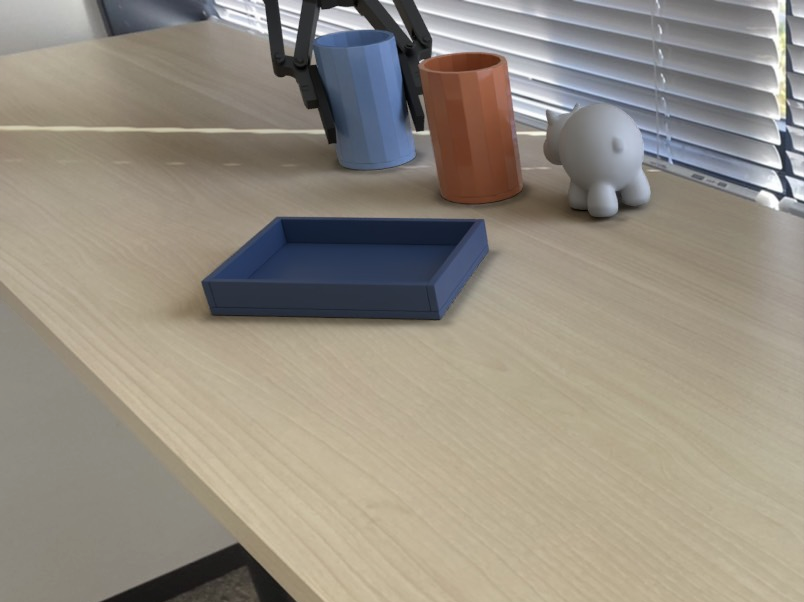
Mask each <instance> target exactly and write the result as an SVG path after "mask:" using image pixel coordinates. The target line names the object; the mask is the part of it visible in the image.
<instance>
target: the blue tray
mask: <svg viewBox="0 0 804 602" xmlns="http://www.w3.org/2000/svg"><path fill="white" fill-rule="evenodd" d="M487 234H488V233H487V227H486V220H485V218H443V217H442V218H438V217H437V218H434V217H433V218H429V217H359V216H358V217H353V216H352V217H351V216H350V217H349V216H346V217H345V216H275V218H273V219H272V220H271V221H270V222H268V223H267V224H266V225H265V226H264V227H263V228H261V230H259V231H258V232H257V233H255V235H253V236H252V237H251V238H250V239H249V240H247V241H246V242H245V243H244V244H243V245H242V246H241V247H239V248H238V249H237V250H235V252H233V253H232V254H231V255H230V256H229V257H228V258H226V259H225V260H224V261H223V262H222V263H221V264H220V265H218V266H217V267H216V268H215V269H214V270H212V272H210V273H209V274H207V276H206V277H204V278H203V279H202V280H201V281H200V283H201V286H202V290H203V292H204V295H205V300H206V303H207V306H208V307H209V308H208V309H209V312H210V314H211V316H254V317H255V316H257V317H263V316H264V317H301V318H302V317H304V318H305V317H306V318H307V317H308V318H310V317H311V318H355V319H356V318H359V319H404V320H405V319H406V320H407V319H409V320H442V318H443V316H444V315H445V314H446V312H447V311H448V309H449V308H450V307H451V305H452V304H453V302H454V300H456V298H457V296H458V294H459V293H460V292H461V291H462V289H463V288H464V286H465V285H466V284H467V282H468V281H469V279H470V278H471V277H472V275H473V274H474V272H475V271H476V270H477V268H478V267H479V265H480V264H481V262H482V261H483V260H484V258H485V257H486V256H487V254H488V252H489V251H490V248H489V240H488V235H487Z"/></svg>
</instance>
